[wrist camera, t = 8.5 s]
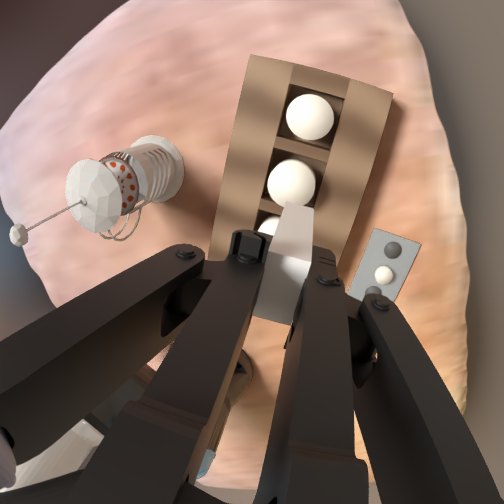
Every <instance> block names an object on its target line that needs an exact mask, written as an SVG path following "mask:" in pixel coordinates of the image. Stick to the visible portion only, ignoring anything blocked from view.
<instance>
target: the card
mask: <svg viewBox="0 0 504 504" xmlns="http://www.w3.org/2000/svg"><path fill="white" fill-rule="evenodd" d="M420 245H421V244H420V243H417V242H414V241H412V240H409V239H406V238H403V237H400V236H397V235H394V234H392V233H389V232H386V231H383V230H380V229H377V228H374V229H373V232H372V234H371V237H370V239H369V242H368V244H367V247H366V249H365V252H364V254H363V257H362V259H361V262H360V264H359V267H358V269H357V271H356V274H355V276H354V278H353V281H352V283H351V285H350V288H349V290H348V292H347V294H348V295H350V296H352V297H353V298H356V299H358V300H360V301H362V300H363V298H364V296H365V295H366V294H369V293H375V294H381V295H384V296H386V297H388V299H390V300H391V301H393V302H394V300H395V298H396V296H397V294H398V292H399V290H400V288H401V286H402V284H403V282H404V280H405V278H406V276H407V274H408V272H409V269H410V267H411V265H412V263H413V261H414V259H415V257H416V254H417V252H418V250H419V248H420Z"/></svg>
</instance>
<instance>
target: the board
mask: <svg viewBox="0 0 504 504" xmlns="http://www.w3.org/2000/svg"><path fill="white" fill-rule="evenodd" d="M306 94H313V95H317V96H319V97H321V98H323V99H324V100H326V101H327V102H328V103H329V105H330V106H331V108H332V111H333V114H334V122H333V125H332V128H331V130H330V131H329V132H328V133H327V134H326V135H325V136H324V137H322V138H320V139H316V140H306V139H302V138H300V137H298V136H297V135H295V134H294V133H293V132H292V131H291V129H290V128H289V126H288V124H287V119H286V113H287V109H288V107H289V105H290V103H291V102H292V101H293V100H294V99H296V98H297V97H299V96H301V95H306ZM393 94H394V93H391V92H389V91H386V90H383V89H380V88H377V87H375V86H372V85H369V84H366V83H363V82H360V81H357V80H354V79H350V78H347V77H344V76H341V75H337V74H334V73H330V72H327V71H323V70H319V69H316V68H312V67H308V66H304V65H300V64H295V63H291V62H286V61H282V60H277V59H272V58H267V57H262V56H256V55H251V54H250V57H249V61H248V65H247V69H246V74H245V78H244V82H243V86H242V91H241V95H240V99H239V104H238V108H237V113H236V117H235V122H234V126H233V131H232V135H231V140H230V145H229V150H228V154H227V159H226V164H225V169H224V174H223V179H222V184H221V189H220V194H219V199H218V204H217V209H216V215H215V220H214V225H213V231H212V236H211V242H210V247H209V253H208V260H211V261H224V260H225V259H226V257H227V256H228V254H229V248H230V243H231V238H232V233H233V232H234V231H235V230H240V229H248V230H255V231H258V230H259V228H260V226H261V224H262V223H263V221H264V220H265V219H266V218H267V217H269V216H271V215H274V214H278V215H281V214H282V211H283V209H284V207H282V206H280V205H279V204H277V203H276V202H275V201H274V200H273V199H272V197H271V196H270V194H269V191H268V178H269V176H270V174H271V172H272V171H273V170H274V168H275V167H276V166H277V165H278V164H279V163H280V162H282V161H283V160H285V159H289V158H297V159H301V160H303V161H305V162H307V163H308V164H309V165H310V166H311V167H312V169H313V171H314V173H315V177H316V183H315V190H314V194H313V196H312V198H311V199H310V201H309V202H308V203H307V204H305V205H304V206H306V207H310V208H313V209H314V220H313V242H312V245H315V246H318V247H322V248H326V249H329V250H331V251H332V252H333V253H334V255H335V257H336V267H337V265H338V263H339V260H340V257H341V255H342V252H343V250H344V247H345V244H346V242H347V239H348V236H349V233H350V231H351V228H352V225H353V222H354V220H355V217H356V214H357V211H358V208H359V205H360V202H361V200H362V197H363V194H364V191H365V188H366V185H367V182H368V179H369V175H370V172H371V169H372V166H373V163H374V160H375V157H376V153H377V150H378V147H379V143H380V140H381V137H382V133H383V130H384V126H385V123H386V119H387V116H388V112H389V109H390V105H391V101H392V97H393Z"/></svg>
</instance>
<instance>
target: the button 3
mask: <svg viewBox="0 0 504 504" xmlns="http://www.w3.org/2000/svg"><path fill="white" fill-rule="evenodd" d="M286 119H287V124H288V126H289V128H290V129H291V131H292V132H293V133H294V134H295V135H297V136H298V137H300V138H302V139H306V140H316V139H320V138H322V137H324V136H325V135H326V134H327V133H328V132H329V131H330V130H331V128H332V125H333V122H334V114H333V111H332V108H331V106H330V105H329V103H328V102H327V101H326V100H324V99H323V98H321V97H319V96H317V95H313V94H306V95H301V96H299V97H297V98H296V99H294V100H293V101H292V102H291V103H290V105H289V107H288V109H287V113H286Z"/></svg>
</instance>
